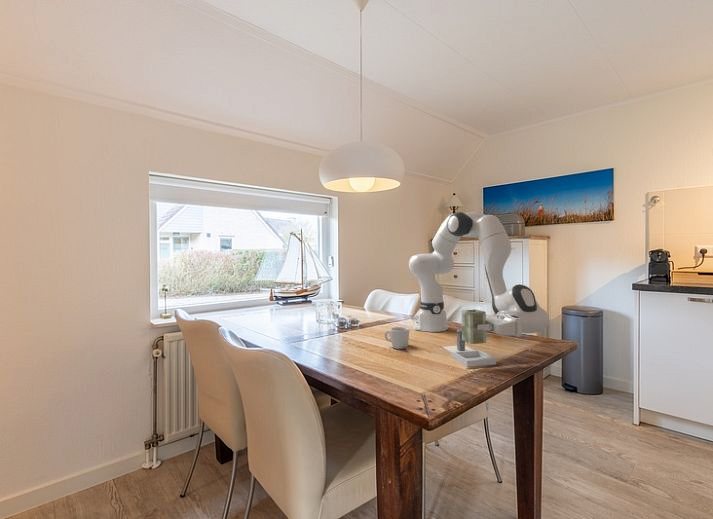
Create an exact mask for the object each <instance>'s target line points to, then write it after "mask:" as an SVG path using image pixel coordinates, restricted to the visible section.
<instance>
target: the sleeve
mask: <svg viewBox="0 0 713 519" xmlns="http://www.w3.org/2000/svg"><path fill="white" fill-rule="evenodd" d="M486 315H487V313H486V311H484V310H481V309H475V308H473V309H461V329H462V341H465V343H467V344H469V345H477V344H480V345H481V344H487V330H477V329H476V324H486Z"/></svg>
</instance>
